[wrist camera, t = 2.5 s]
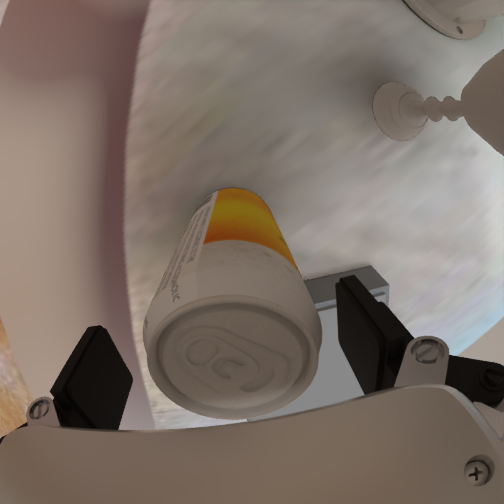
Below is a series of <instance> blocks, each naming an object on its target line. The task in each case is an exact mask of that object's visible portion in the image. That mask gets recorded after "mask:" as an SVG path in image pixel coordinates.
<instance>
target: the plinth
mask: <svg viewBox="0 0 504 504" xmlns="http://www.w3.org/2000/svg"><path fill="white" fill-rule="evenodd" d="M350 275H355V276H356V277H357V278H358V279H359V280H360V281H361V283H362V284H363V285H364V286H365V287H366V288H367V289H368V291H369V292H370V293H371V294H372V295H373V296H374V298H375V299H376V300H377V301H378V302H380V301H382V302H383V303H385V304H386V306H387V307H388V302H389V284H388V283H387V282H386V281H385V280H384V279H383V278H382V277H381V275H380V274H379V273H378V272H377V271H376V270H375V269H374V268H373V267H372V266H368V267H364V268H360V269H356V270H352V271H347V272H343V273H339V274H335V275H330V276H326V277H322V278H317V279H313V280H308V281H304V283H305V285H306V287H307V290H308V292H309V294H310V296H311V299H312V301H313V303H314V305H315V307H316V310H317V312H318V315H319V317H320V320H321V325H322V344H321V348H320V352H319V361H318V368H317V372H316V375H315V377H314V379H313V381H312V383H311V384H310V386H309V387H308V388H307V390H306V391H305V392H304V393H303V394H302V395H301V396H300V397H299V398H298V399H296V400H295V401H294V402H292V403H291V404H289V405H288V406H286V407H284V408H282V409H280V410H278V411H276V412H273V413H270V414H268V415H264V416H260V417H256V418H250V419H247V421H254V420H260V419H266V418H272V417H277V416H282V415H287V414H291V413H296V412H300V411H305V410H309V409H313V408H318V407H322V406H326V405H330V404H333V403H337V402H341V401H344V400H348V399H351V398H355V397H359V396H363V395H364V393H363V391H362V389H361V387H360V385H359V383H358V381H357V379H356V377H355V374H354V372H353V370H352V368H351V366H350V364H349V362H348V360H347V359H346V357H345V355H344V353H343V351H342V349H341V347H340V344H339V340H338V324H337V305H336V290H335V284H336V283H337V282H339V279H340V278H342V277H346V276H350Z"/></svg>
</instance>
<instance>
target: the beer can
mask: <svg viewBox="0 0 504 504" xmlns="http://www.w3.org/2000/svg"><path fill="white" fill-rule="evenodd" d="M143 341H144V346H145V350H146V353H147V363H148V368H149V372H150V374H151V377H152V379H153V380H154V382H155V384H156V385H157V387H158V388H159V389H160V390H161V391H162V392H163V393H164V394H165V395H166V396H167V397H168V398H169V399H170V400H172V401H173V402H174V403H176V404H177V405H179V406H181V407H183V408H185V409H187V410H189V411H191V412H194V413H196V414H199V415H203V416H207V417H211V418H217V419H227V420H240V419H250V418H256V417H260V416H264V415H268V414H270V413H273V412H276V411H278V410H280V409H282V408H284V407H286V406H288V405H289V404H291V403H292V402H294V401H295V400H296V399H298V398H299V397H300V396H301V395H302V394H303V393H304V392H305V391H306V390H307V388H308V387H309V386H310V384H311V383H312V381H313V379H314V377H315V375H316V372H317V368H318V361H319V352H320V348H321V344H322V325H321V320H320V317H319V315H318V312H317V310H316V307H315V305H314V303H313V301H312V299H311V296H310V294H309V292H308V290H307V287H306V285H305V283H304V281H303V279H302V277H301V274H300V272H299V270H298V268H297V266H296V264H295V261H294V259H293V257H292V255H291V253H290V251H289V249H288V246H287V244H286V242H285V240H284V238H283V236H282V234H281V232H280V230H279V228H278V225H277V223H276V221H275V219H274V217H273V215H272V213H271V211H270V209H269V207H268V206H267V204H266V203H265V202H264V201H263V200H262V199H261V198H260V197H259V196H257V195H256V194H254V193H252V192H250V191H247V190H244V189H240V188H227V189H222V190H218V191H216V192H214V193H212V194H210V195H209V196H207V197H206V198H205V199H204V200H203V201H202V202H201V203H200V204H199V206H198V207H197V209H196V211H195V213H194V215H193V217H192V219H191V221H190V222H189V224H188V226H187V228H186V230H185V232H184V234H183V236H182V238H181V240H180V242H179V244H178V247H177V249H176V251H175V253H174V255H173V257H172V259H171V261H170V263H169V265H168V267H167V269H166V272H165V274H164V276H163V278H162V280H161V282H160V285H159V287H158V289H157V291H156V293H155V296H154V298H153V300H152V302H151V305H150V307H149V309H148V312H147V314H146V317H145V320H144V325H143Z"/></svg>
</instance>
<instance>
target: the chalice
mask: <svg viewBox="0 0 504 504" xmlns="http://www.w3.org/2000/svg"><path fill="white" fill-rule="evenodd" d="M373 112H374V117H375V119H376V122H377V124H378V126H379V127H380V128H381V130H382V131H383V132H384V133H385V134H386V135H387V136H389V137H390V138H392V139H395V140H398V141H407V140H409V139H411V138H413V137H415V135H417V134H418V133H419V132H421V131H422V130H423V129H424V128H425V127H426V124H427V122H428V117H429V118H430V119H431V120H432V121H434V122H438V121H440V120H441V119H442V117H443V116H446V117H447V118H448V119H449V120H451V121H456V120H457V119H458V118H459V117H462V116H464V118H465V120H466V121H467V123H468V125H469V126H470V127H471V128H472V130H474V131H475V132H476V133H477V134H478V135H480V136H481V137H482V138H483V139H484V140H485V141H486V142H488V143H489V144H490V145H491V146H492V147H493V148H494V149H495V150H496V151H498V152H499V153H500V154H502V155H503V156H504V49H503V50H502V51H500V52H499V53H498V54H496V55H495V56H494V57H493V58H491V59H490V60H489V61H487V62H486V63H485V64H484V65H483V66H482V67H481V68H480V69H479V71H478V72H477V73H476V74H475V75H474V77H473V78H472V79H471V80H470V81H469V83H468V84H467V85H466V86H465V87H464V89H463V90H462V94H461V101H458V100H455V99H454V98H452V97H451V96H447V97H445V98H444V99H443V101H442V102H440V101H439V100H438V99H437V98H435V97H432V96H430V97H428V98H427V99H426V101H425V100H424V99H423V97H422V96H421V94H419V93H418V92H417V91H416V90H414V89H411V88H410V87H407V86H406V85H403V84H401V83H398V82H389V83H386V84H383V85H382V86H381V87H380V88H379V89H378V90H377V91H376V94H375V96H374V99H373Z"/></svg>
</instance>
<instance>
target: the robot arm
mask: <svg viewBox="0 0 504 504" xmlns="http://www.w3.org/2000/svg"><path fill="white" fill-rule="evenodd" d="M404 1H405V2H406V3H407V4H408V5H409V6H410V8H411V9H412V10H413V11H415V12H416V13H417V14H418V15H419V16H420V17H421V18H422V19H423V20H425V21H426V22H427V23H428V24H429V25H431V26H432V27H434V28H435V29H437V30H438V31H440V32H441V33H443V34H445V35H447V36H449V37H452V38H455V39H459V40H468V39H473V38H475V37H478V36H479V35H480V34H481V33H482V31H483V29H484V26H485V19H488V18H492V17H496V16H500V15H504V0H404ZM335 290H336V305H337V324H338V340H339V344H340V347H341V349H342V351H343V353H344V355H345V357H346V359H347V360H348V362H349V364H350V366H351V368H352V370H353V372H354V374H355V377H356V379H357V381H358V383H359V385H360V387H361V389H362V391H363V393H364V395H363V396H359V397H355V398H351V399H348V400H344V401H341V402H337V403H333V404H330V405H326V406H322V407H318V408H313V409H309V410H305V411H300V412H296V413H291V414H287V415H282V416H277V417H272V418H266V419H260V420H254V421H248V422H241V423H234V424H226V425H218V426H209V427H198V428H185V429H168V430H118V429H119V425H120V422H121V419H122V415H123V412H124V408H125V405H126V402H127V399H128V395H129V392H130V389H131V386H132V383H133V378H132V375H131V373H130V371H129V369H128V368H127V366H126V364H125V363H124V361H123V359H122V357H121V355H120V354H119V352H118V350H117V348H116V346H115V344H114V343H113V341H112V339H111V337H110V335H109V333H108V331H107V330H106V329H105V328H103V327H102V326H100V325H98V326H91V327H88V328H87V330H86V331H85V333H84V334H83V336H82V337H81V339H80V341H79V342H78V344H77V345H76V347H75V349H74V350H73V352H72V354H71V355H70V357H69V359H68V360H67V362H66V364H65V365H64V367H63V369H62V371H61V372H60V374H59V376H58V378H57V380H56V381H55V383H54V385H53V387H52V388H51V390H50V393H51V394H52V395H53V396H54V399H53V400H52V399H51V398H49V397H40V398H38V399H36V400H35V401H33V402H32V403H31V404H30V406H29V407H28V409H27V412H26V417H27V422H26V423H25V424H23V425H22V426H20V427H18V428H17V429H15V430H13V431H12V432H10V433H8V434H7V435H5V436H3V437H2V438H0V504H504V366H503V365H501V364H498V363H494V362H488V361H482V360H475V359H470V358H464V357H458V356H453V355H449V348H448V346H447V344H446V343H445V342H444V341H443V340H441V339H439V338H437V337H433V336H421V337H417V338H415V339H414V337H413V336H412V335H411V334H410V333H409V331H408V330H407V329H406V328H405V327H404V325H403V324H402V323H401V322H400V321H399V320H398V318H397V317H396V316H395V315H394V314H393V313H392V311H391V310H390V309H389V308H388V307H387V306H386V304H385V303H383V302H382V301H380V302H378V301H377V300H376V299H375V298H374V296H373V295H372V294H371V293H370V292H369V291H368V289H367V288H366V287H365V286H364V285H363V284H362V283H361V281H360V280H359V279H358V278H357V277H356V276H355V275H350V276H346V277H342V278H340V279H339V282H337V283H336V284H335Z"/></svg>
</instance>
